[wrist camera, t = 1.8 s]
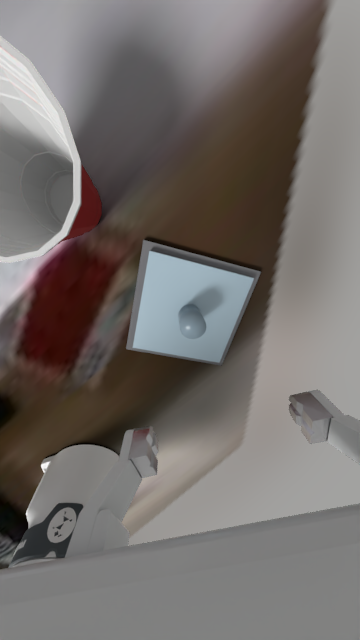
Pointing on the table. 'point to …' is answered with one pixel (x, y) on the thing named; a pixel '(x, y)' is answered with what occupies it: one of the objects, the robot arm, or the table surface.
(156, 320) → the lid
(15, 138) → the plastic cup
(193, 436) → the table surface
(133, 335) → the grey flat square plate
